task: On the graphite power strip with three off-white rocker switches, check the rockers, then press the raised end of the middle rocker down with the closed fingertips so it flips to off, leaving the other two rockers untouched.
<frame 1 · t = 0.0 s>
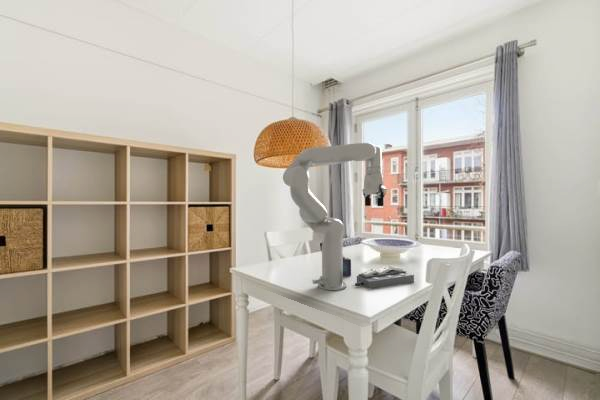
hand: (373, 206, 136), 37 cm above the table, tool pointing down, fingers open, 9 cm apart
power strip: (385, 282, 132), on the table
rocker 1: (368, 272, 131), point 5 cm above the table, hinge at -15.0°
rocker 3: (395, 268, 137), point 5 cm above the table, hinge at 15.0°
flask: (342, 275, 145), on the table
rocker 2: (382, 270, 134), point 5 cm above the table, hinge at -15.0°
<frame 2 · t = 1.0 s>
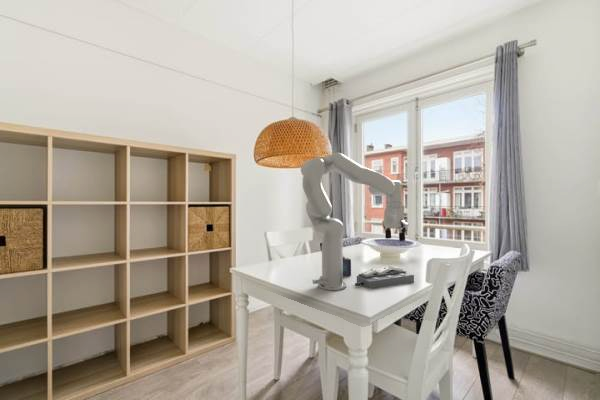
hand: (395, 239, 137), 20 cm above the table, tool pointing down, fingers open, 9 cm apart
nothing on the table moved.
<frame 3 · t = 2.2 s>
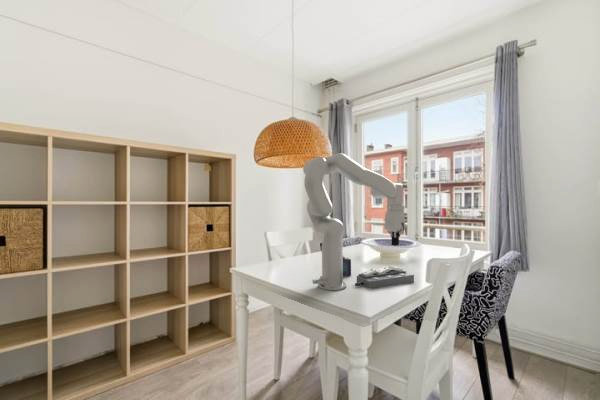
hand: (395, 245, 137), 17 cm above the table, tool pointing down, fingers closed
nothing on the table moved.
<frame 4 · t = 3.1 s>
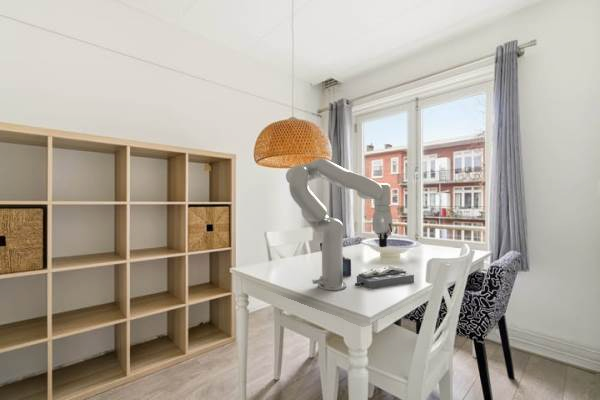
hand: (383, 246, 134), 17 cm above the table, tool pointing down, fingers closed
nothing on the table moved.
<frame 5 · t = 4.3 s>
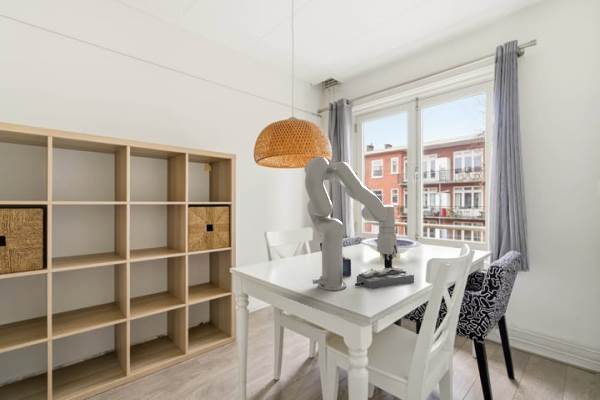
hand: (388, 267, 135), 6 cm above the table, tool pointing down, fingers closed
rocker 2: (382, 270, 134), point 5 cm above the table, hinge at -11.3°, touching gripper
everything else where it was.
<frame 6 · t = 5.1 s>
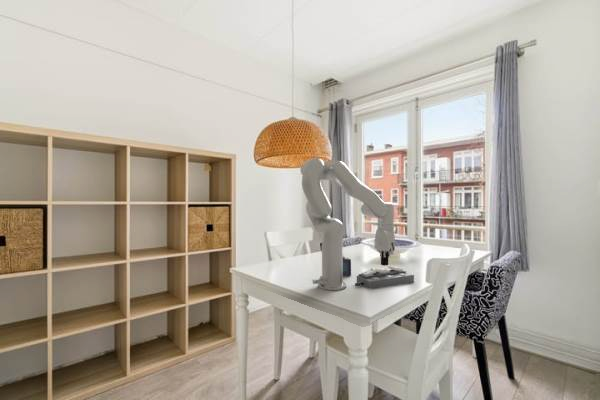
hand: (384, 264, 135), 8 cm above the table, tool pointing down, fingers closed
rocker 2: (382, 270, 134), point 5 cm above the table, hinge at 4.1°
everything else where it was.
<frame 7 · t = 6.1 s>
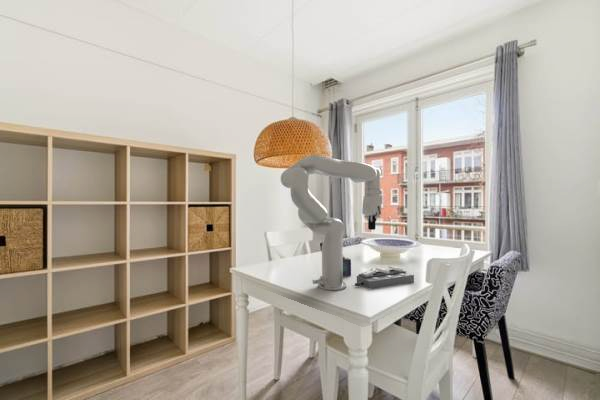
hand: (371, 229, 138), 25 cm above the table, tool pointing down, fingers closed
rocker 2: (382, 270, 134), point 5 cm above the table, hinge at 15.8°
everything else where it was.
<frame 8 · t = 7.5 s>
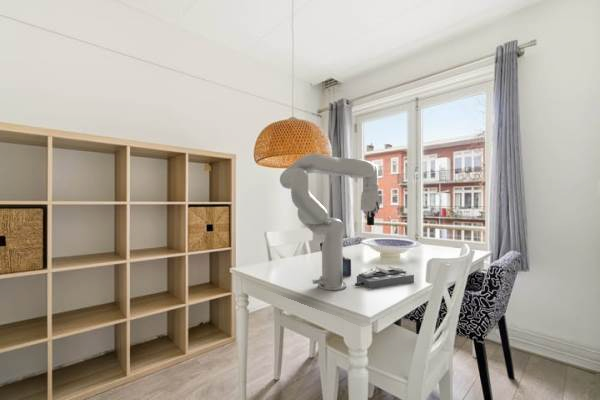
hand: (370, 224, 139), 27 cm above the table, tool pointing down, fingers closed
rocker 2: (382, 270, 134), point 5 cm above the table, hinge at 25.6°, touching power strip
everything else where it was.
at the end: rocker 2 at +27° (first picture: -15°); rocker 1 at -15° (first picture: -15°); rocker 3 at +15° (first picture: +15°) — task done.
